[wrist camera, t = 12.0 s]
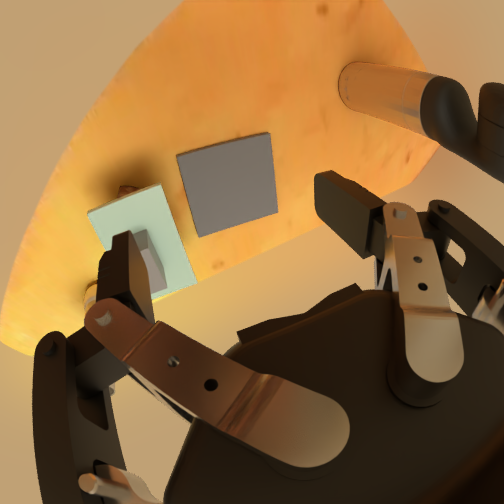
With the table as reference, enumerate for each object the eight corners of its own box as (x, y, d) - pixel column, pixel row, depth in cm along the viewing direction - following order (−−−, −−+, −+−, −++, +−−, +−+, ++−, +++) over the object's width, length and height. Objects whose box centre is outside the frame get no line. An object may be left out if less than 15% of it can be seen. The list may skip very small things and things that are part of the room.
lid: (160, 181, 30) (164, 199, 26) (196, 279, 39) (204, 303, 36) (87, 211, 28) (81, 232, 24) (137, 300, 38) (140, 326, 34)
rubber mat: (267, 132, 41) (270, 133, 40) (275, 209, 50) (278, 212, 49) (176, 155, 38) (176, 157, 37) (197, 234, 47) (198, 237, 46)
